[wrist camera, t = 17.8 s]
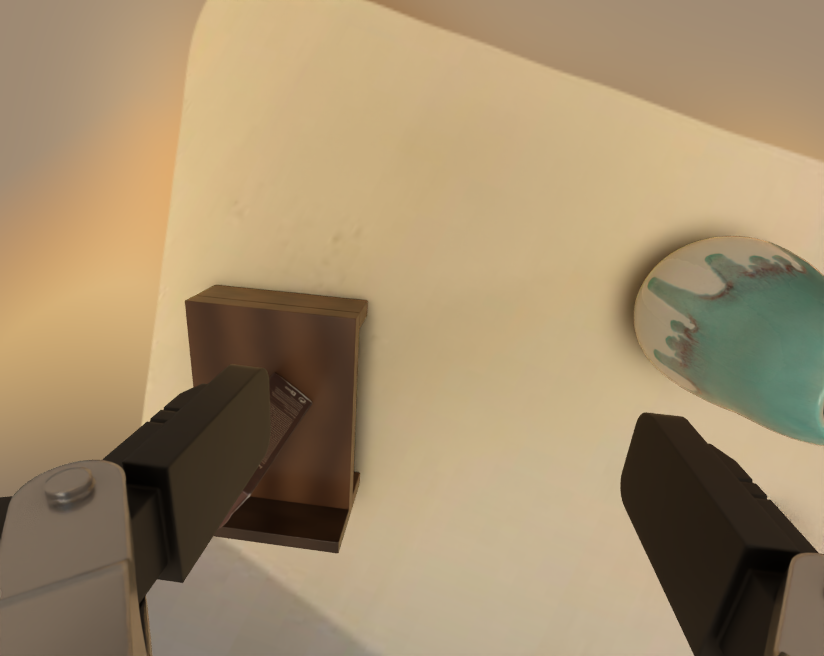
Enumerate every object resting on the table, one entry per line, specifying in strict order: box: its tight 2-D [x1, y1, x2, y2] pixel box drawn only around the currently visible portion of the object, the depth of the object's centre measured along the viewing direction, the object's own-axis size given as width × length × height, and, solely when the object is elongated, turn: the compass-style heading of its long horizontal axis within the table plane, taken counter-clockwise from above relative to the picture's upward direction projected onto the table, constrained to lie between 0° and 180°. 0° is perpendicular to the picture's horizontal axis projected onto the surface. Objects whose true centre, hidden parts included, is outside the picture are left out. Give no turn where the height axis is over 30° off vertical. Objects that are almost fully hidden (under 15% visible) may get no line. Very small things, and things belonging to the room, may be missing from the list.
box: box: [217, 373, 312, 530], centre depth 34 cm, size 6×4×12 cm
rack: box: [185, 285, 368, 553], centre depth 41 cm, size 14×20×9 cm
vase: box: [634, 236, 824, 446], centre depth 30 cm, size 12×12×18 cm
